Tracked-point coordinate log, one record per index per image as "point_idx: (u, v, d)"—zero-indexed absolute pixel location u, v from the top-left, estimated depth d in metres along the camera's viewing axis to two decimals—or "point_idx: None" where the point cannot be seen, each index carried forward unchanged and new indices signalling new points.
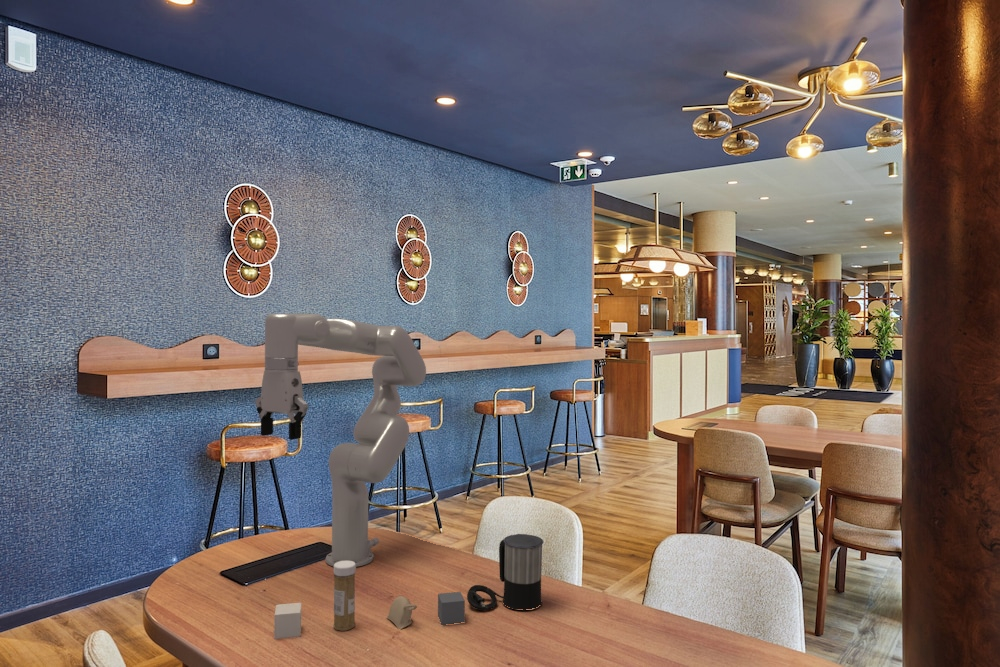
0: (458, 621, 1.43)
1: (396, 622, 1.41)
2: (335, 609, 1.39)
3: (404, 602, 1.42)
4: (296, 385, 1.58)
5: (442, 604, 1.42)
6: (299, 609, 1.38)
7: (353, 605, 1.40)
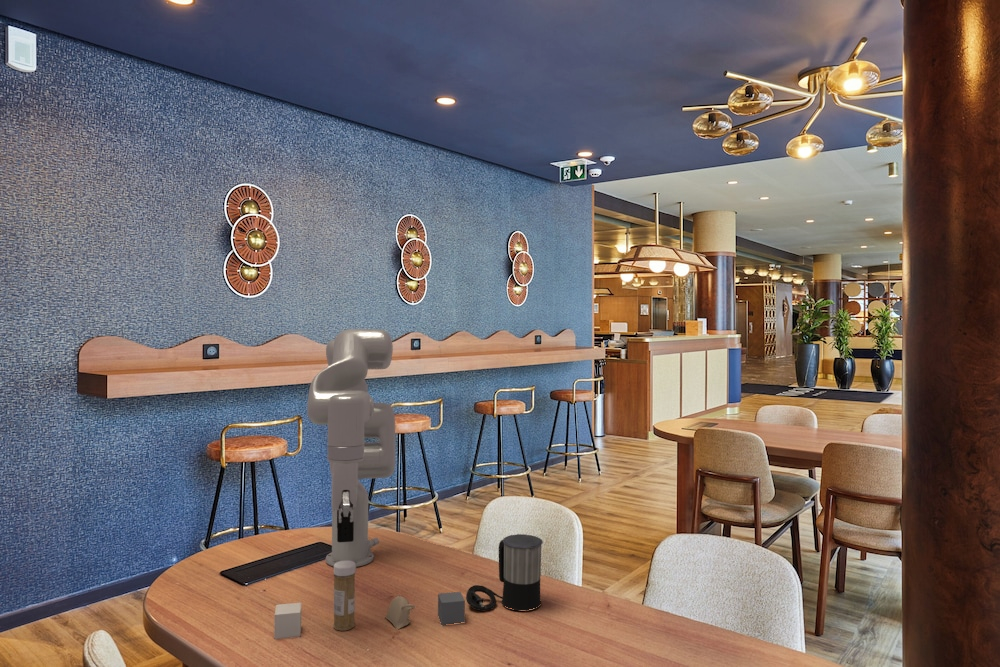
0: (458, 621, 1.43)
1: (394, 622, 1.41)
2: (335, 609, 1.39)
3: (402, 601, 1.42)
4: None
5: (442, 604, 1.42)
6: (299, 609, 1.38)
7: (353, 605, 1.40)
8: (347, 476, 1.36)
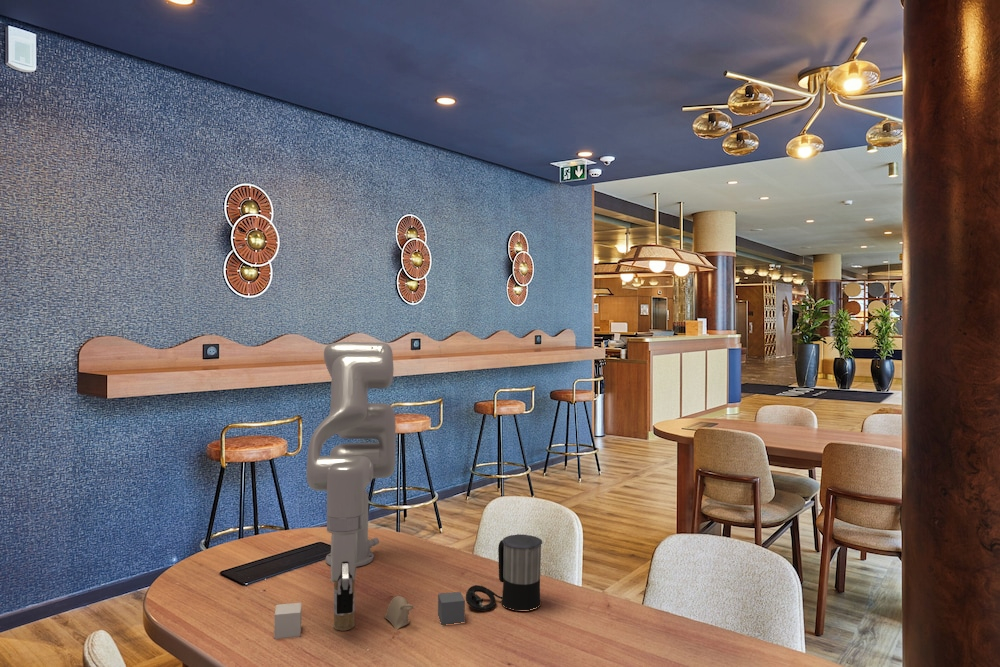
0: (458, 621, 1.43)
1: (393, 622, 1.41)
2: (335, 609, 1.39)
3: (401, 601, 1.42)
4: None
5: (442, 604, 1.42)
6: (299, 609, 1.38)
7: (353, 605, 1.40)
8: (346, 548, 1.36)
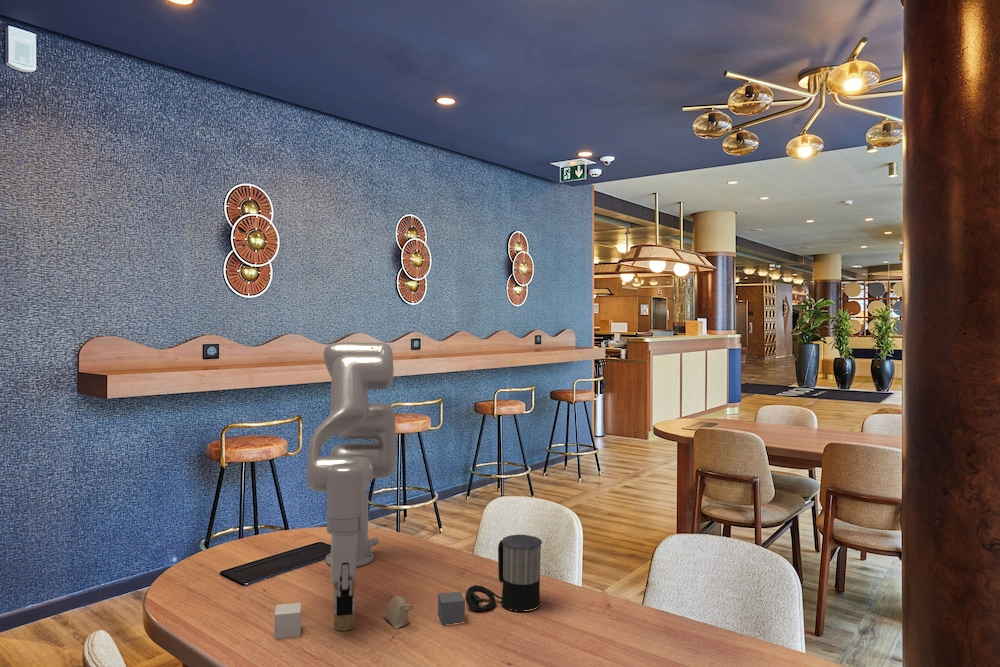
0: (458, 621, 1.43)
1: (392, 622, 1.41)
2: (335, 609, 1.39)
3: (401, 601, 1.42)
4: None
5: (442, 604, 1.42)
6: (299, 609, 1.38)
7: (353, 605, 1.40)
8: (346, 549, 1.36)
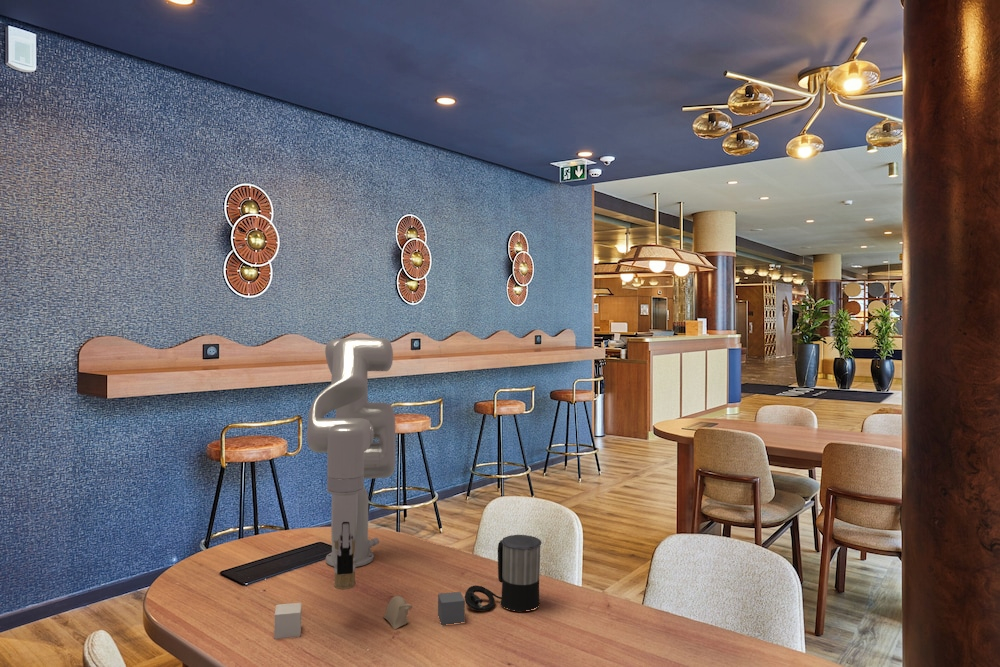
0: (458, 621, 1.43)
1: (391, 622, 1.41)
2: (336, 568, 1.40)
3: (400, 601, 1.43)
4: None
5: (442, 604, 1.42)
6: (299, 609, 1.38)
7: (353, 564, 1.41)
8: (347, 508, 1.36)
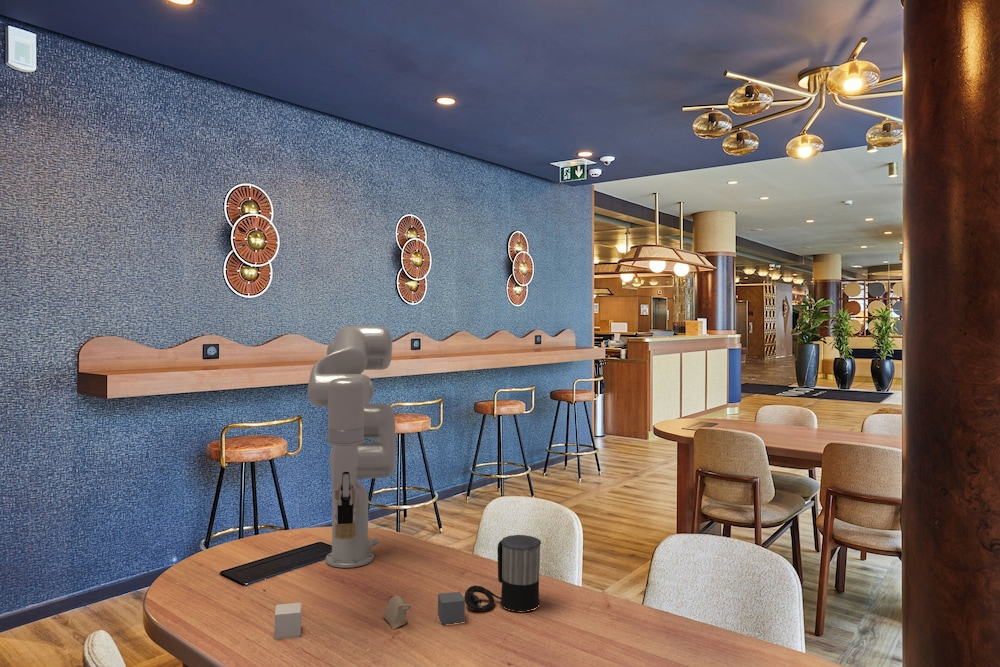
0: (458, 621, 1.43)
1: (390, 622, 1.41)
2: (336, 518, 1.43)
3: (399, 601, 1.43)
4: None
5: (442, 604, 1.42)
6: (299, 609, 1.38)
7: (353, 515, 1.44)
8: (347, 458, 1.39)
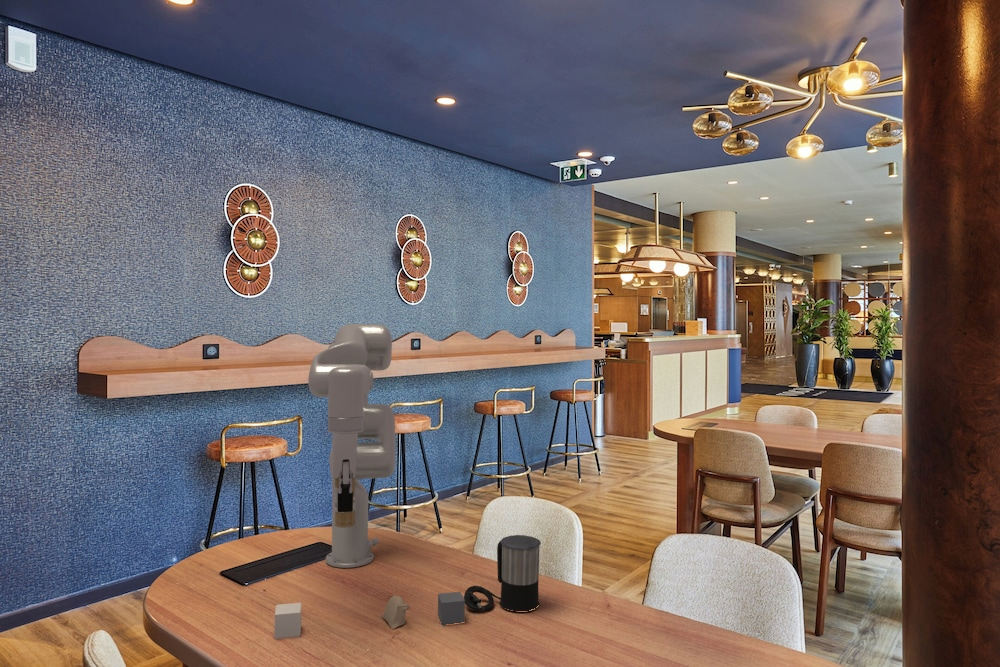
0: (458, 621, 1.43)
1: (389, 622, 1.42)
2: (336, 507, 1.43)
3: (398, 601, 1.43)
4: None
5: (442, 604, 1.42)
6: (299, 609, 1.38)
7: (353, 503, 1.44)
8: (347, 446, 1.40)
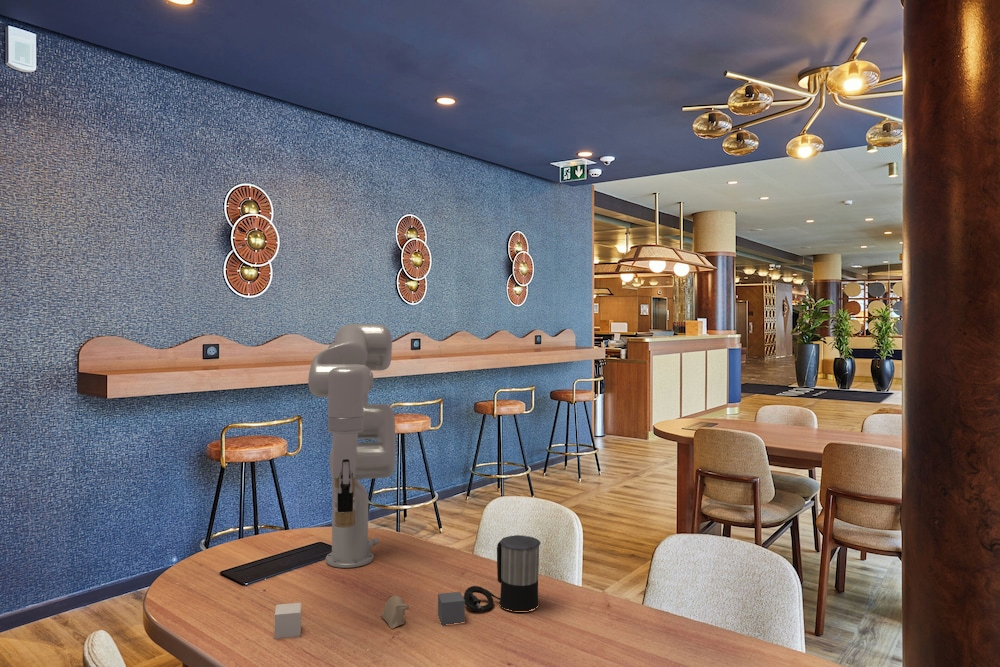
0: (458, 621, 1.43)
1: (388, 622, 1.42)
2: (336, 507, 1.43)
3: (397, 601, 1.43)
4: None
5: (442, 604, 1.42)
6: (299, 609, 1.38)
7: (353, 503, 1.44)
8: (347, 446, 1.40)
